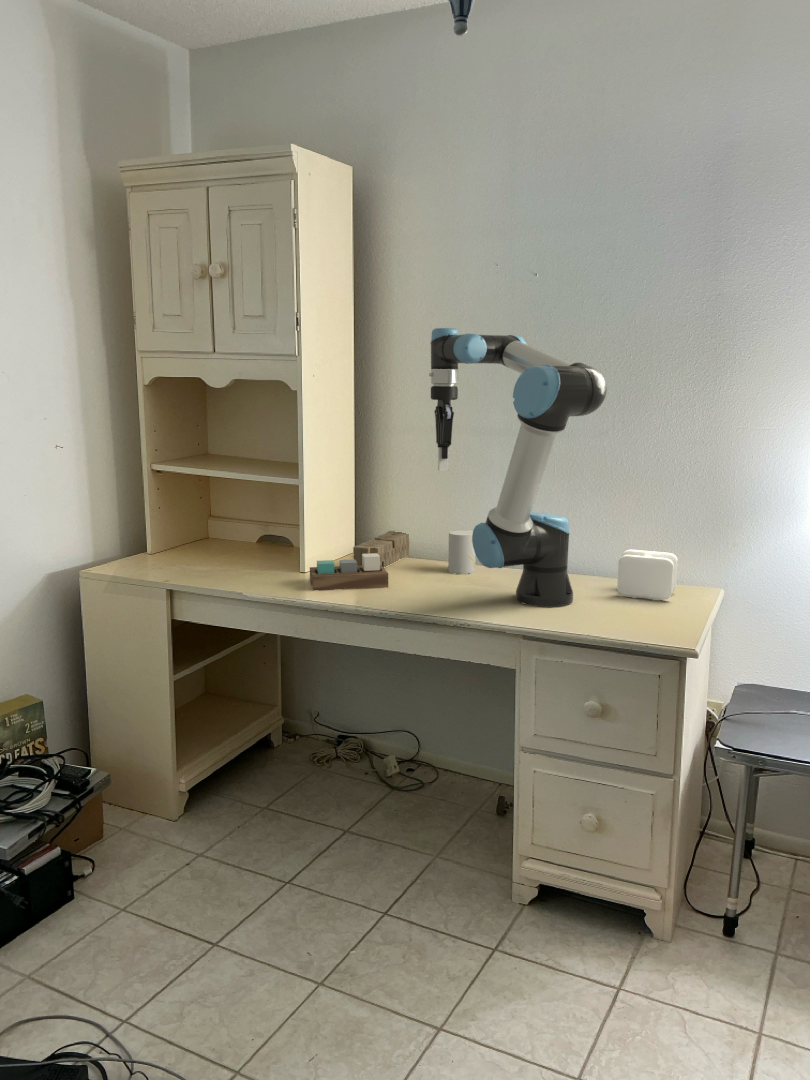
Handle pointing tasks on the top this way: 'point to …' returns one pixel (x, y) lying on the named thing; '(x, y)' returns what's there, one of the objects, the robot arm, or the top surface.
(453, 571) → the white upright cylinder
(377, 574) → the keypad base
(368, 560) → the key ivory
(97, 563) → the top surface
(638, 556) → the cable organizer
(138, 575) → the top surface
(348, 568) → the key slate
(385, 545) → the block tower
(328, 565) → the key teal
